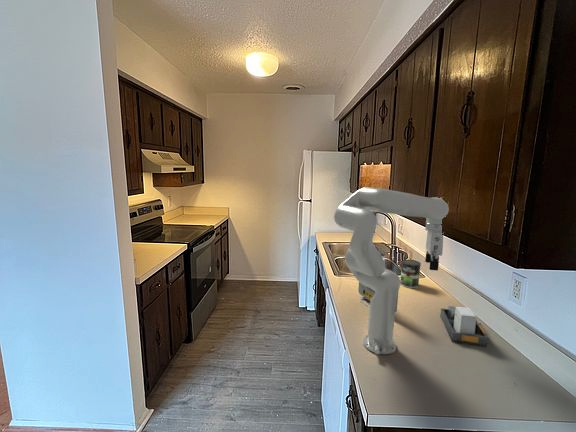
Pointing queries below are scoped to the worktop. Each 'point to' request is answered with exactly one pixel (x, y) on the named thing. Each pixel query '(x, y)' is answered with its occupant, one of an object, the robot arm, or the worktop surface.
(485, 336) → the rack
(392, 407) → the worktop surface
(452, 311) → the module
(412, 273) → the coffee can
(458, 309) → the small box
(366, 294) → the network device
